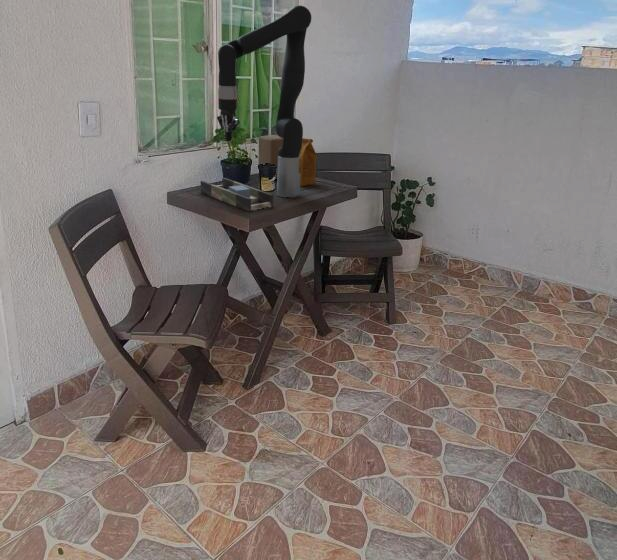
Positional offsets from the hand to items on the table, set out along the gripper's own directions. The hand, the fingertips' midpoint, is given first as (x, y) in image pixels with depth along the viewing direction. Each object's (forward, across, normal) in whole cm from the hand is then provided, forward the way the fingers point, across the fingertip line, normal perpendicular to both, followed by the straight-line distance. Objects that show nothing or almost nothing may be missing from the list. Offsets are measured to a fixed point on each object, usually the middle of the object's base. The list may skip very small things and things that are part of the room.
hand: (228, 140), depth 233 cm
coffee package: (+24, -2, -41) cm, 47 cm away
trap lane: (+23, -8, +2) cm, 24 cm away
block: (+23, +15, -36) cm, 45 cm away
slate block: (+21, -12, +4) cm, 25 cm away
